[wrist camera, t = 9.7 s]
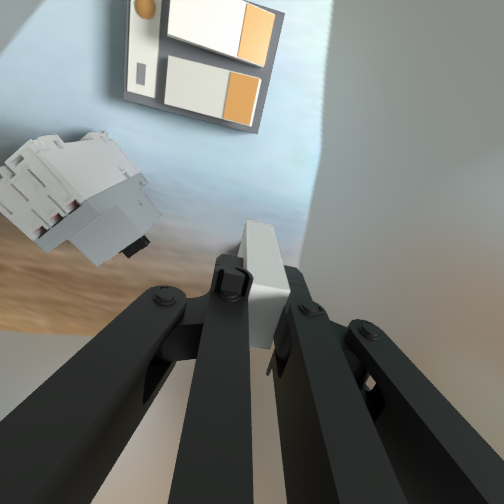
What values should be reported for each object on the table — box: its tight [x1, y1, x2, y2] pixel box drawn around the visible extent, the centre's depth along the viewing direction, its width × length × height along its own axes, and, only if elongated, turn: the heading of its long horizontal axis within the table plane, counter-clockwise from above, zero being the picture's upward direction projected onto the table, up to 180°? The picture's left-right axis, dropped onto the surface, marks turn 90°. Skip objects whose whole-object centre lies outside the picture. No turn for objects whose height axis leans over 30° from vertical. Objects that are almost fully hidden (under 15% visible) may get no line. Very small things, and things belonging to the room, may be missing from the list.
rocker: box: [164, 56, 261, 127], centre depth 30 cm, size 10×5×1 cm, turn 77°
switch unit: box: [123, 0, 285, 134], centre depth 32 cm, size 16×12×5 cm
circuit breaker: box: [0, 131, 162, 267], centre depth 34 cm, size 8×14×15 cm, turn 33°
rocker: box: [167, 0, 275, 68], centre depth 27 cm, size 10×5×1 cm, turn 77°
